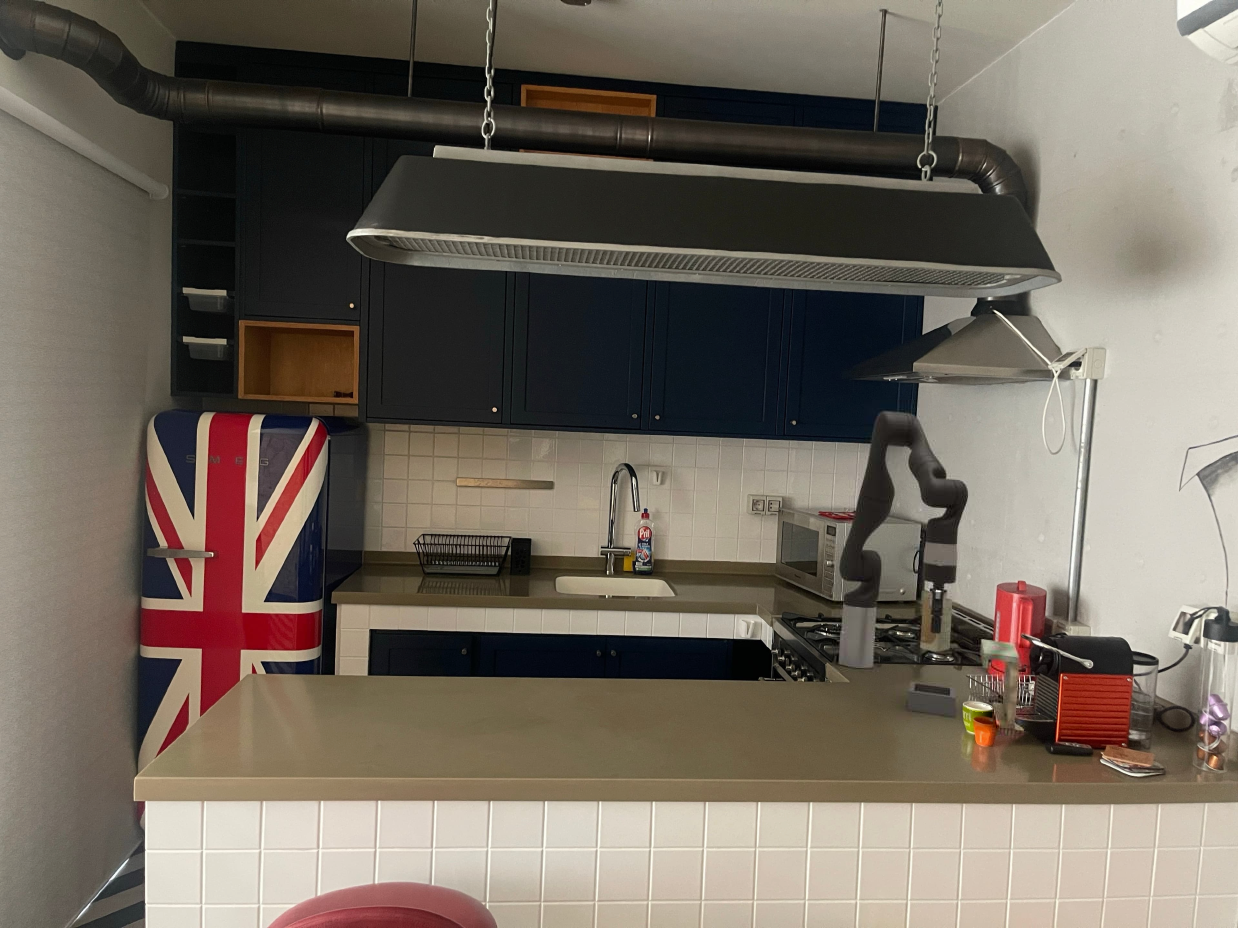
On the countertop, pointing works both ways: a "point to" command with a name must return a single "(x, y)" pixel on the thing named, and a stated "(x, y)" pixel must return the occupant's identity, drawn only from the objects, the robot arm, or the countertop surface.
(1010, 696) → the awning stand
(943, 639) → the skincare box
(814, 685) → the countertop surface
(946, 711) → the socket
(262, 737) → the countertop surface
